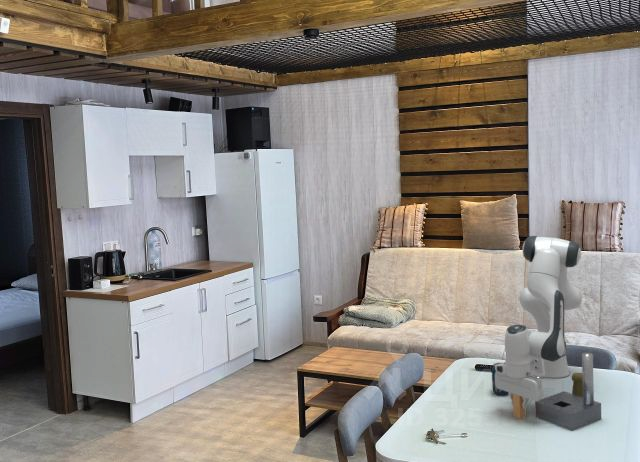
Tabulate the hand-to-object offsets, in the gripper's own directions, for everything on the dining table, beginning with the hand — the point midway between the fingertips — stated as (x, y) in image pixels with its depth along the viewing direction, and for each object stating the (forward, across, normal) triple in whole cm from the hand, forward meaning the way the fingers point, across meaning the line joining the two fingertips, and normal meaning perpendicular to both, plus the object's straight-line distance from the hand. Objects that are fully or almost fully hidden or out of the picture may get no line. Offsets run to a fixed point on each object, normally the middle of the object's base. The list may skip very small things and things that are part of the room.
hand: (519, 406), depth 241 cm
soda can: (+4, +21, -13) cm, 25 cm away
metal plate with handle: (+4, -12, -12) cm, 17 cm away
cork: (+4, -4, -29) cm, 30 cm away
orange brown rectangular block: (+4, 0, 0) cm, 4 cm away
